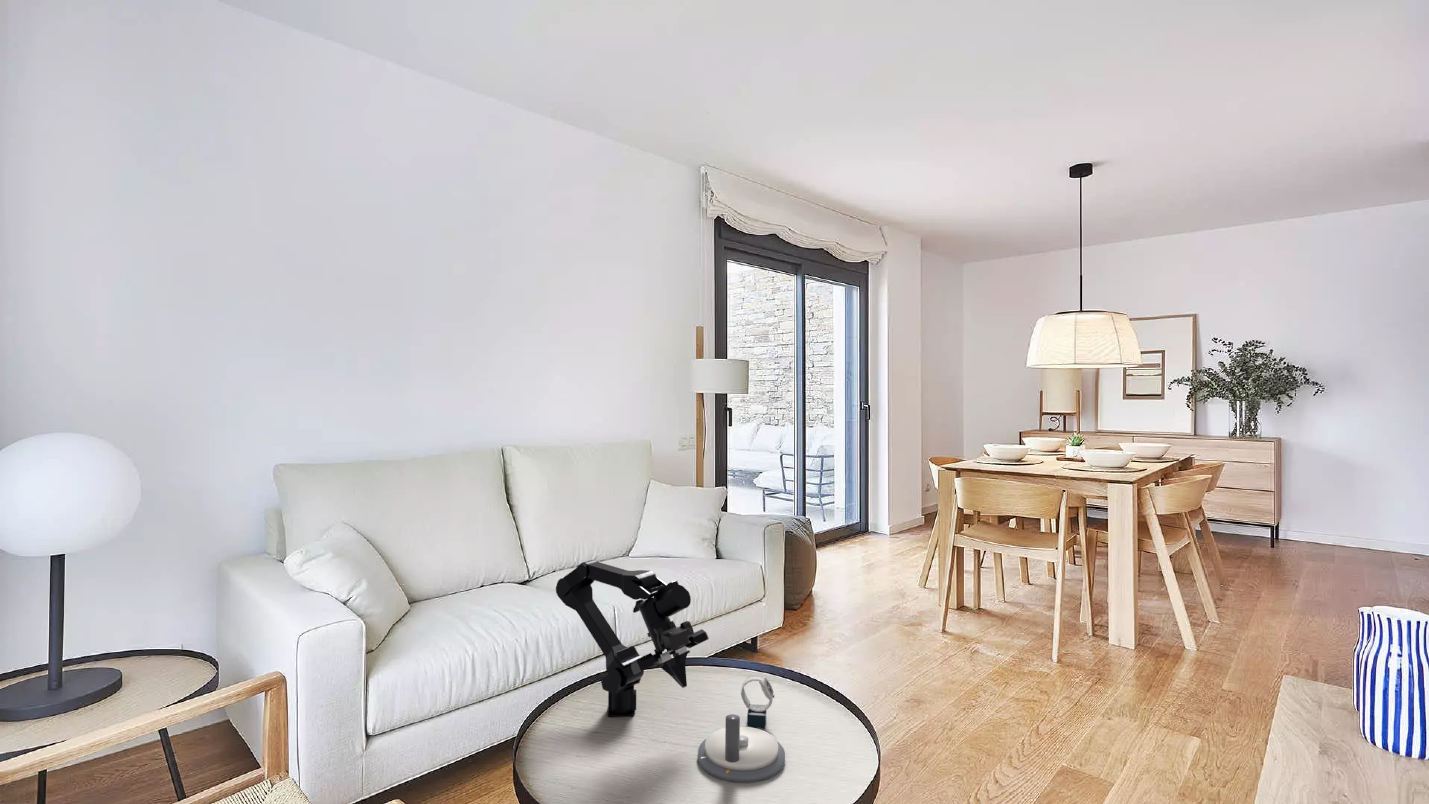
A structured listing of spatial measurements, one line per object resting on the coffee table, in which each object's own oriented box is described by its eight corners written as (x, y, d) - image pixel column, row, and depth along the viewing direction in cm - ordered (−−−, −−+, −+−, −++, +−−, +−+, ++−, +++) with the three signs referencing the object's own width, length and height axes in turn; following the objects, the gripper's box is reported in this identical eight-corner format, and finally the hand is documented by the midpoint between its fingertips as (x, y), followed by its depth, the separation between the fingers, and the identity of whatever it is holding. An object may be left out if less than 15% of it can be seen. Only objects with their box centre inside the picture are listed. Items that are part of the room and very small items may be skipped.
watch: (773, 729, 174) (774, 683, 173) (739, 726, 175) (740, 681, 174) (774, 718, 179) (775, 673, 179) (741, 715, 180) (742, 672, 180)
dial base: (701, 784, 150) (701, 776, 150) (695, 738, 169) (695, 731, 169) (792, 780, 152) (792, 773, 152) (776, 735, 171) (776, 728, 171)
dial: (754, 779, 149) (754, 729, 149) (690, 755, 158) (691, 708, 158) (791, 746, 163) (791, 700, 162) (730, 726, 172) (731, 682, 171)
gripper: (634, 631, 163) (662, 700, 158) (703, 600, 173) (731, 664, 168) (619, 640, 171) (645, 706, 167) (686, 611, 181) (712, 672, 177)
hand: (684, 687), depth 170 cm, fingers closed
